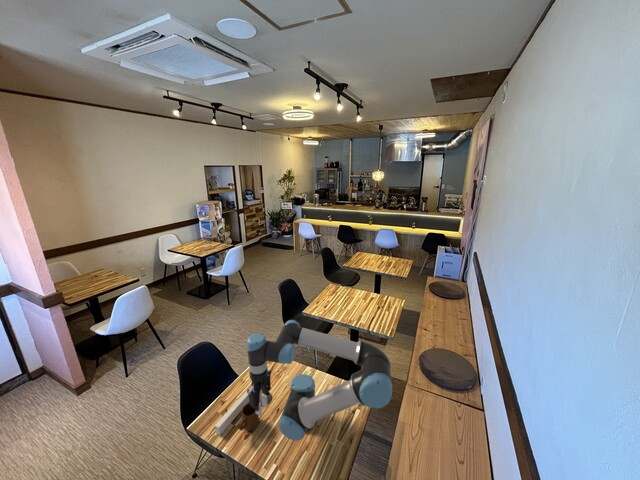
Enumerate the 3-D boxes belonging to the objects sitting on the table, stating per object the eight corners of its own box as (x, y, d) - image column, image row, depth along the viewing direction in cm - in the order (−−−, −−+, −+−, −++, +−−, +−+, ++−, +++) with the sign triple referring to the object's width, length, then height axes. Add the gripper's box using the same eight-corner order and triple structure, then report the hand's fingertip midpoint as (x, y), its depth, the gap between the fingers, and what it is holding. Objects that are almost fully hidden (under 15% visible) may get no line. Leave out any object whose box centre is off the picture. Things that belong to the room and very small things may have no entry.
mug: (247, 442, 118) (246, 427, 115) (234, 437, 121) (232, 422, 118) (261, 419, 129) (260, 404, 126) (249, 414, 131) (247, 400, 129)
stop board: (251, 398, 140) (250, 391, 138) (219, 435, 121) (218, 427, 120) (247, 397, 141) (247, 389, 140) (215, 433, 122) (214, 425, 121)
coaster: (274, 395, 142) (274, 394, 142) (264, 408, 134) (264, 407, 134) (261, 389, 146) (261, 388, 146) (250, 401, 138) (250, 400, 138)
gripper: (263, 352, 118) (266, 392, 125) (237, 379, 103) (242, 422, 110) (277, 358, 115) (279, 398, 121) (251, 386, 100) (256, 430, 107)
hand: (261, 410), depth 116 cm, fingers open, 4 cm apart
